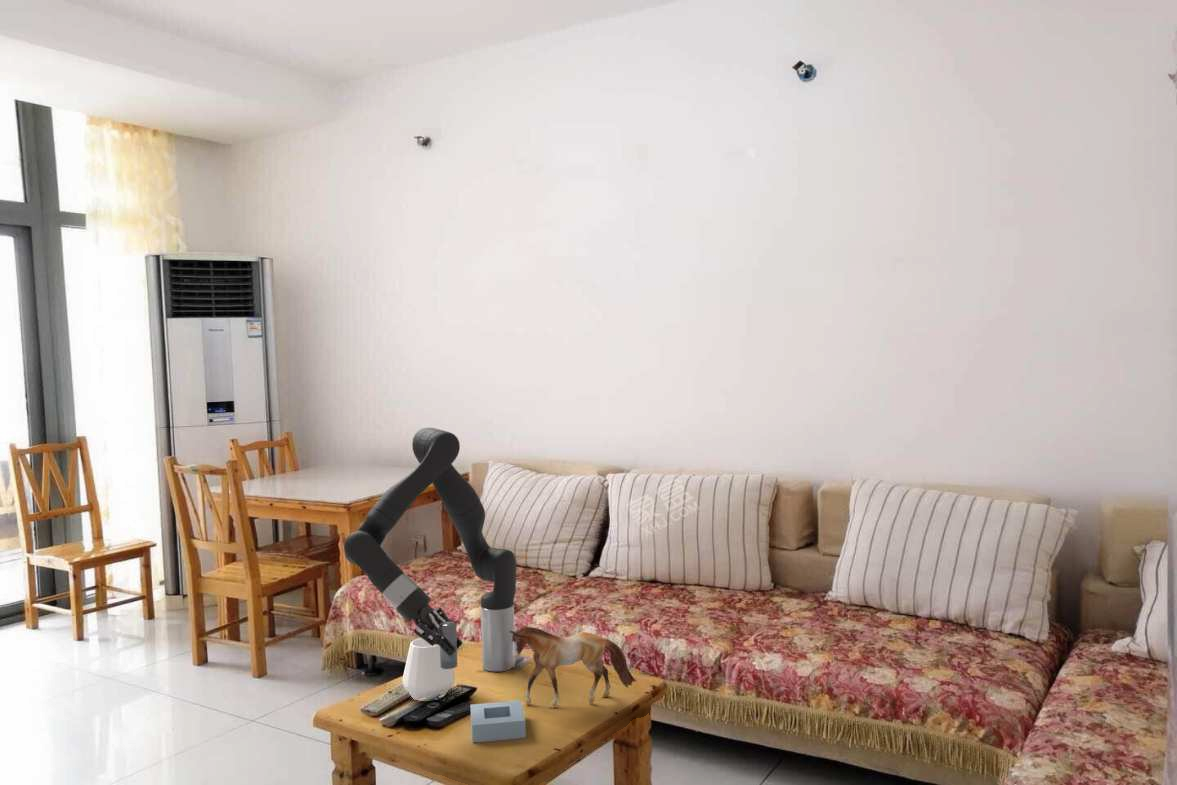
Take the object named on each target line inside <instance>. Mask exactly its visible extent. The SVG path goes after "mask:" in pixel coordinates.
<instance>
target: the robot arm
mask: <svg viewBox="0 0 1177 785" xmlns="http://www.w3.org/2000/svg"><path fill="white" fill-rule="evenodd" d="M458 438H459V437H457V435H455V434H454V433H452V432H449V431H446V430H442V429H438V428H435V427H424V428H421V429H419V430H417V431H416V432H415V434H414V435H413V438H412V444H411V446H412V451H413V454H414V457H415V458H416V460H417V461H418V466H417V467H416V468H415V469H414V470H412V471H411V472H410V473H409V474H408V475H407V476H405V477H404V478H402V479H401V480H399V481H398V482H396V483H395V484H393V485H392V486H390V487H389V488H388V489H387V490H386V491H384V492H383V493H382V495H381V496H380V497H379V499H378V500H377V501H376V502H375V504H374V505H372V507H371V508H370V510H369V511H368V513H367V515H366V517H365V520H364V522H363V523H362V524H361V525H360V527H359V528H358V529H357V530H356V531H355V530H354V531H353V532H351V533H349V534H348V535H347V537H346V538H345V540H344V542H343V551H344V552H343V553H344V556H345V558H346V560H347V561H348V562H349V563H351V564H352V565H356V566H358V567H359V568H360V569H361V570H362V571H363V572H364V573H365V574H366V576H367V578H368V580H369V582H370V583H371V584H372V585H373V586H374V587H375V588H376V589H377V590H378V591H379V592H380V593H381V595H382V596H383V597H384V599H385V600H386V601H387V602H388V603H389V604H390V606H391V607H392V608H393V609H394V610H395V611H396V612H397V613H398V614H399V615H400V616H401V617H402V618H403V619H404V621H406V622H407V623H410V622H412V621H413V622H414V624H415V625H416V627H415V628H414V629H413V632H414V634H416V635H417V636H418V637H419V638H422V639H424V640H425V641H426V642H428V643H429V644H430V645H432V646H433V645H434V644H436V645H439V646H440V647H441V648H442V649H443V650H444V651H445V652H446V653H447V654H448V655H449V656H451V655H452V654H453V653H454V652H455V651H456V648H455V647H454V646H453V645H452V644H451V643H450V642H449V641H448V639H447V638H445V636H444V635H443V634H442V632H441V631H440V629H441V628H440V626H439V624H440V623H443V622H452V621H451V620H450V618H449V616H448V615H447V614H446V613H445V611H444V610H443V609H442V608H441V607H439V608H438V609H434V608H433V607H432V606H430V605H429V604H430V603H431V601H432V599H431V597H430V596H429V595H428V594H427V593H426V592H425V591H424V590H423V589H422V588H421V587H420V586H419V584H417V583H416V582H415V580H414V579H412V578H411V577H410V576H409V575H407V573H405V572H404V571H403V570H402V569H401V568H400V567H399V566H398V564H396V562H394V561H393V560H392V559H391V558H390V556H388V555H387V553H386V552H385V550H384V549H383V547H381V545H382V543H383V542H384V541H385V539H386V537H387V535H388V534H390V531H391V530H393V528H394V527H395V526H396V525H397V524H398V522H399V521H400V519H401V518H402V517H403V515H404V514H405V513H406V511H407V510H408V509H409V508H410V507H411V505H412V504H413V503H414V502H415V501H416V499H417V498H419V497H420V496H421V495H422V493H423V492H425V491H426V489H427V488H428V487H430V486H431V485H432V484H433V486H434V489H435V492H436V493H437V495H438V497H439V499H440V500H441V502H442V505H443V506H444V508H445V510H446V512H447V513H446V514H447V515H448V517H449V518H450V521H451V522H452V524H453V526H454V527H455V529H456V531H457V534H458V536H459V538H460V540H461V542H462V543H463V547H464V549H465V552H466V554H467V557H468V559H469V563H470V565H471V568H472V570H473V572H474V574H475V575H476V577H478V578H479V580H481V581H488V582H493V590H492V591H490V592H486V593H484V594H482V595H481V597H480V620H481V621H480V624H481V627H480V629H481V657H482V658H481V659H482V660H481V663H482V665H481V666H482V669H484V670H485V671H489V672H504V671H509V670H512V669H513V668H514V667H515V666H516V658H514V657H513V655H512V654H513V642H512V637H513V633H511V632H509V631H514V632H516V631H515V609H514V608H515V605H514V604H515V603H514V601H515V596H516V591H517V587H516V586H517V562H516V561H517V560H516V557H515V554H514V553H513V551H512V550H510V549H505V548H497V547H491V546H490V545H489V543H488V542H487V541H486V538H485V536H484V533H483V530H484V529H483V528H484V525H485V518H486V512H485V508H484V506H483V503H482V500H480V497H479V495H478V493H477V492H476V490H475V489H474V487H472V485H471V484H470V483H469V481H467V479H465V478H464V476H463V475H462V474H460V473H459V471H458V470H457V469H456V468H455V466H454V465H453V463H454V462H455V461H456V459H457V457H458V456H459V454H460V453H459V452H460V448H461V446H460V440H459V439H458ZM430 638H431V639H432V640H431V639H430ZM444 638H445V639H444ZM462 645H463V641H462V640H461V639H460V637H458V636H457V650H458V649H459V648H460V647H461V646H462ZM514 665H515V666H514ZM513 666H514V667H513ZM512 667H513V668H512ZM511 668H512V669H511Z"/></svg>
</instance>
